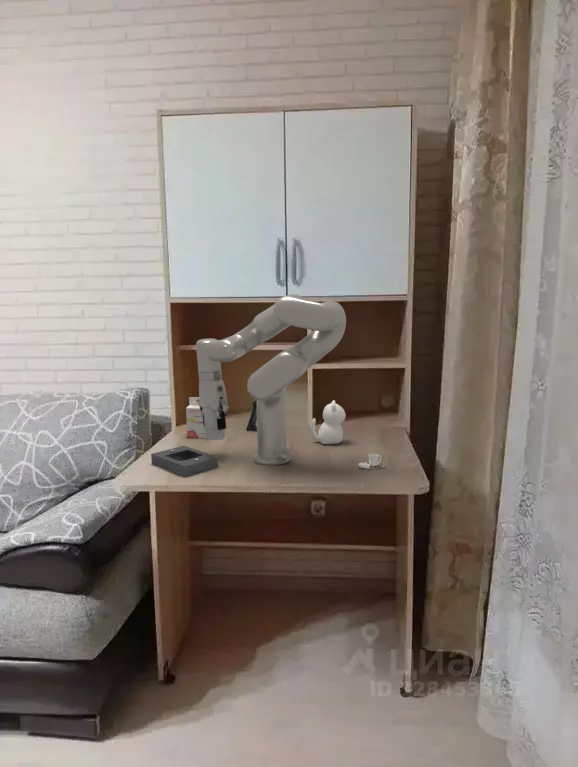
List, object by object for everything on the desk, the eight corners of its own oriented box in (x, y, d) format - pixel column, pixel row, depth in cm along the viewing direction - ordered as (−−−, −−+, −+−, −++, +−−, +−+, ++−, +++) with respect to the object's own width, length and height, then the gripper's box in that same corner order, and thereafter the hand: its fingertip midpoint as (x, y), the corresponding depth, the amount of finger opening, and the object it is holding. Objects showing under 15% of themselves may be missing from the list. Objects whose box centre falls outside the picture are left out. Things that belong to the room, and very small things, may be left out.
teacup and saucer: (358, 471, 214) (358, 459, 213) (357, 463, 221) (357, 451, 221) (386, 471, 213) (387, 459, 212) (384, 463, 221) (384, 451, 220)
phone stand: (246, 430, 262) (245, 400, 260) (251, 426, 268) (250, 397, 265) (268, 432, 260) (267, 401, 257) (273, 428, 265) (272, 398, 263)
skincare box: (205, 440, 228) (202, 405, 226) (208, 436, 232) (205, 402, 230) (223, 439, 227) (220, 404, 225) (226, 436, 232) (223, 401, 229)
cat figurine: (346, 446, 239) (346, 404, 236) (310, 446, 240) (310, 405, 237) (345, 439, 248) (345, 399, 245) (311, 439, 249) (310, 399, 246)
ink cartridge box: (186, 438, 253) (184, 399, 250) (190, 434, 258) (188, 396, 255) (209, 438, 253) (207, 399, 250) (212, 434, 257) (210, 396, 254)
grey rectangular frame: (218, 467, 219) (217, 456, 218) (184, 477, 210) (184, 465, 209) (184, 455, 233) (184, 444, 232) (151, 464, 224) (151, 452, 223)
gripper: (235, 376, 222) (239, 428, 225) (204, 372, 235) (208, 421, 238) (217, 380, 217) (221, 434, 220) (186, 375, 230) (190, 426, 233)
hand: (214, 427), depth 229 cm, fingers closed on skincare box, 7 cm apart
